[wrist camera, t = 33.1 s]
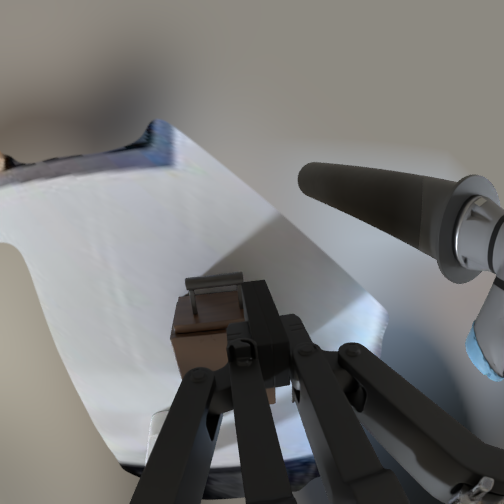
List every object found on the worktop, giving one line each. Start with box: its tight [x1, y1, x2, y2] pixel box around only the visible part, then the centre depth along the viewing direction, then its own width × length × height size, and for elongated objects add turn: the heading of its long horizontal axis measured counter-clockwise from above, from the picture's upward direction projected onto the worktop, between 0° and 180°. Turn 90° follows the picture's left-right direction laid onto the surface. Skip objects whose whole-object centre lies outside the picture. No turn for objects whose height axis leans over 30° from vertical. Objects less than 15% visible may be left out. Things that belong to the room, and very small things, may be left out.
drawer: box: [173, 272, 245, 334], centre depth 39 cm, size 18×11×8 cm, turn 4°
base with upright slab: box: [145, 411, 169, 466], centre depth 45 cm, size 9×9×12 cm
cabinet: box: [170, 302, 276, 404], centre depth 41 cm, size 15×13×10 cm
